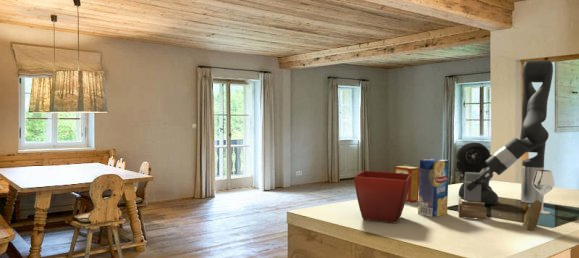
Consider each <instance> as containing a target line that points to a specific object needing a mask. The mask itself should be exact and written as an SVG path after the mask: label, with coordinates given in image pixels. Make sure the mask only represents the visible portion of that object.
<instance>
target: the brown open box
mask: <svg viewBox="0 0 579 258" xmlns="http://www.w3.org/2000/svg"><path fill="white" fill-rule="evenodd" d="M457 203H458V204H457V205H458V208H457V212H458V213H459V214H458V213H457V214H458V218H462V217H466V218H465V219H473V218H477V219H476V220H483V219H486V220H487V213H488V208H487V207H485V205H486V204H485V203H480V202H468V201H465V200H462V198H458V202H457Z"/></svg>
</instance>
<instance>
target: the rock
mask: <svg viewBox="0 0 579 258" xmlns="http://www.w3.org/2000/svg"><path fill="white" fill-rule="evenodd" d="M541 207H542V203H541V202H540V201H534V203H531V204H530V206H529V207H528V210H526V212H525V214H524V217H523V219H524V220H523V223H522V226H523V227H524V228H526V230H531V231H536V227H537V225H538V220H539V217H540V215H541V213H540V211H541Z"/></svg>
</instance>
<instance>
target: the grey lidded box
mask: <svg viewBox="0 0 579 258" xmlns="http://www.w3.org/2000/svg"><path fill="white" fill-rule="evenodd" d="M478 175H479V173H472V172H465V188H464V198H463V201H467V202H468V201H476V202H479V203H480V202H481V185H477V186H476V187H475V188H474V189H473V190H471V191H469V190H468V189H467V188H466V187H467V186H468V185H469V184H470V183H472V182H474V179H476V178H477V176H478ZM481 175H482V174H481ZM481 175H480V176H481ZM478 180H479V181H481V180H480V179H478Z"/></svg>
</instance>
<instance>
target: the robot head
mask: <svg viewBox="0 0 579 258" xmlns="http://www.w3.org/2000/svg"><path fill="white" fill-rule="evenodd" d="M455 154H456V155H455V159H456V163H455V165H456V166H455V169H454V170H455V172H456V173H457V175H458V182H461V183H462V184H461V185H460V186H459V189H458V197H459V198H460V197H461V198H460V199H464V188H465V172H472V173H479V172H480V171H481V170H482V169H483V168H487V167H488V164H487V163H486V162H485V161H486V160H487V159H488V158H490V157H491V156H492V155H493V154H491V151H490V150H489V149H488V148H487V146H485V145H484V144H482V143H480V142H469V143H465V144H463V145H462V146H460V147H459V149H458V150H457V151H456V153H455ZM491 175H492V176H491V177H490V178H488V179H487V180H486V181H485V182H483V183H482V184H481V202H479V203H485V205H495V206H496V205H497V204H498V202H499V196H498V194H497V193H496V192H495V191H494V190H493V189H492V186H491V185H490V182H491V179H493V177H494V172H493V173H492V174H491ZM467 202H476V201H467Z"/></svg>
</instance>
